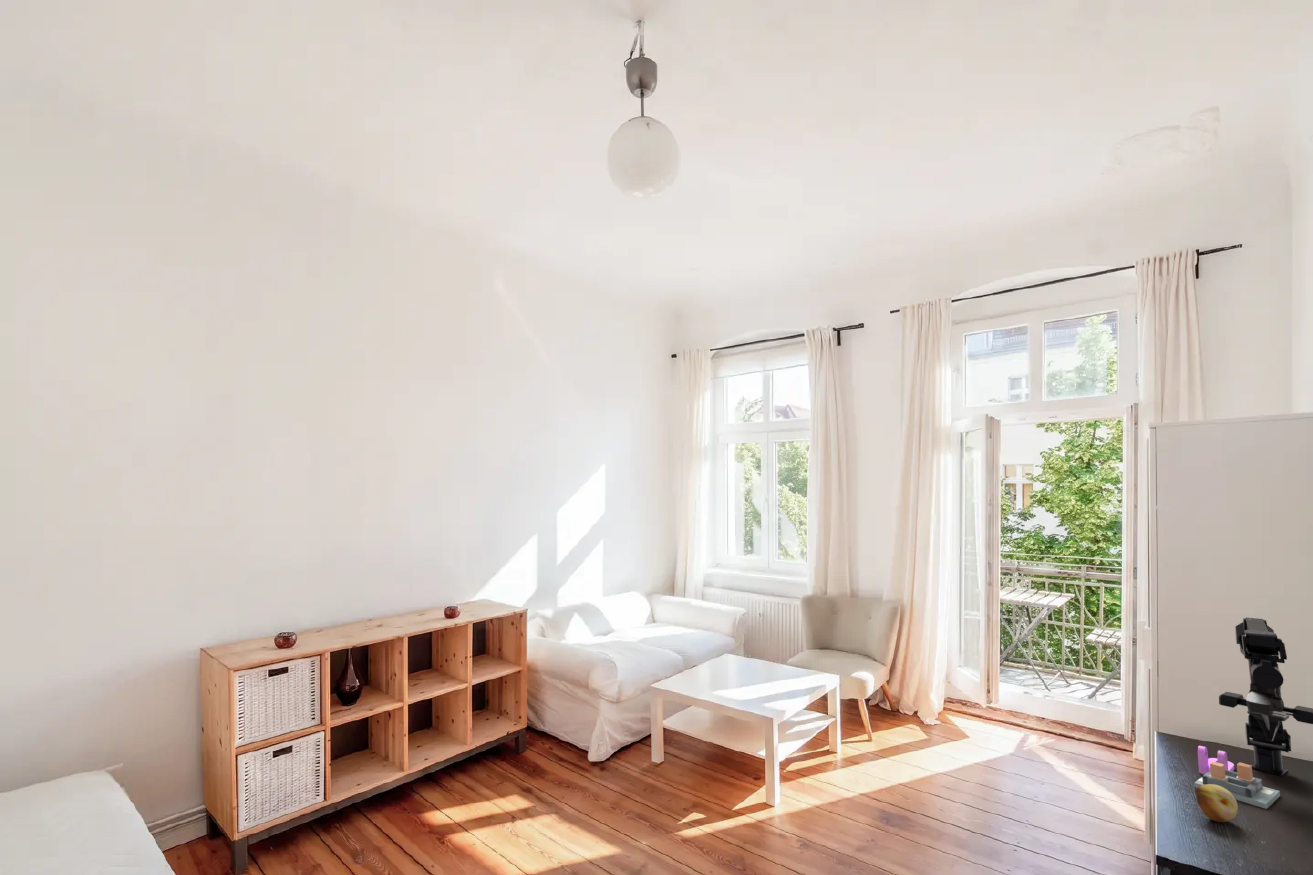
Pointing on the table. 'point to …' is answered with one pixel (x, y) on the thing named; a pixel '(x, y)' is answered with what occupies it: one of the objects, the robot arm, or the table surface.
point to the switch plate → (1243, 789)
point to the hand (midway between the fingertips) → (1270, 740)
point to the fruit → (1216, 802)
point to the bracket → (1212, 760)
